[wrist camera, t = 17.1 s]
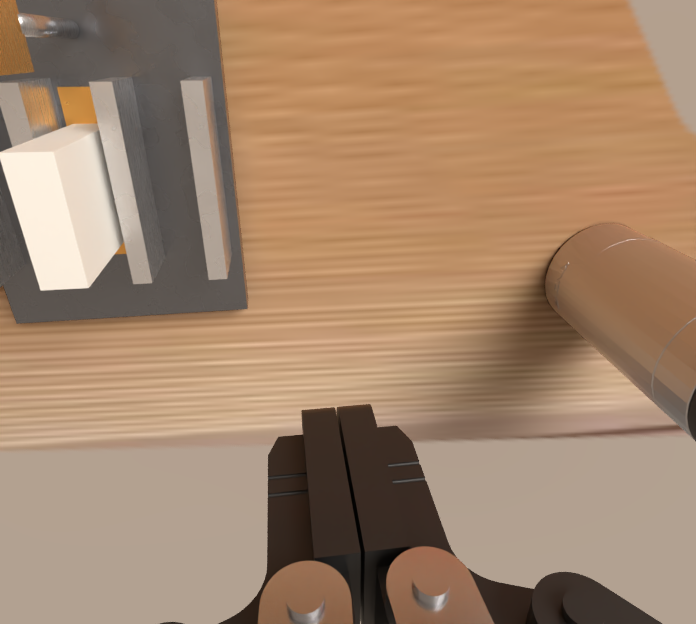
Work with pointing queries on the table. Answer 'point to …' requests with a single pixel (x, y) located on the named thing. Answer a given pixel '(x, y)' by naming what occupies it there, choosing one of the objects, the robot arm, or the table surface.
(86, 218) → the block
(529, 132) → the table surface
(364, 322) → the table surface
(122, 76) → the rack
